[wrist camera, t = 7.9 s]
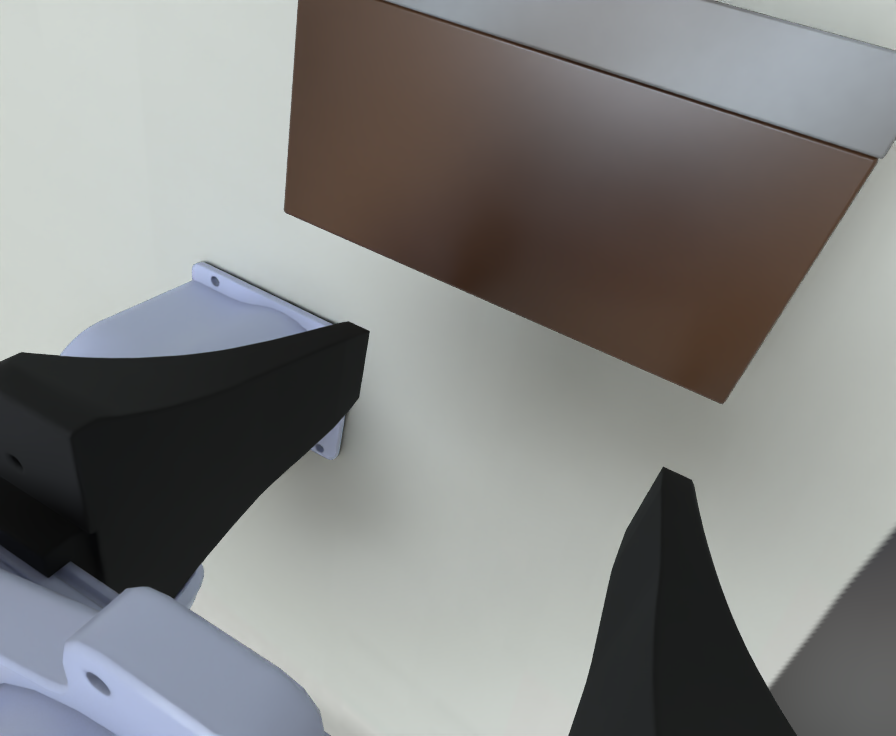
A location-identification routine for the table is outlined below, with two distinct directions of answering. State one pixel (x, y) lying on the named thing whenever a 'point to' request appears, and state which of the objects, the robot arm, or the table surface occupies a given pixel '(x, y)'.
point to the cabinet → (591, 160)
